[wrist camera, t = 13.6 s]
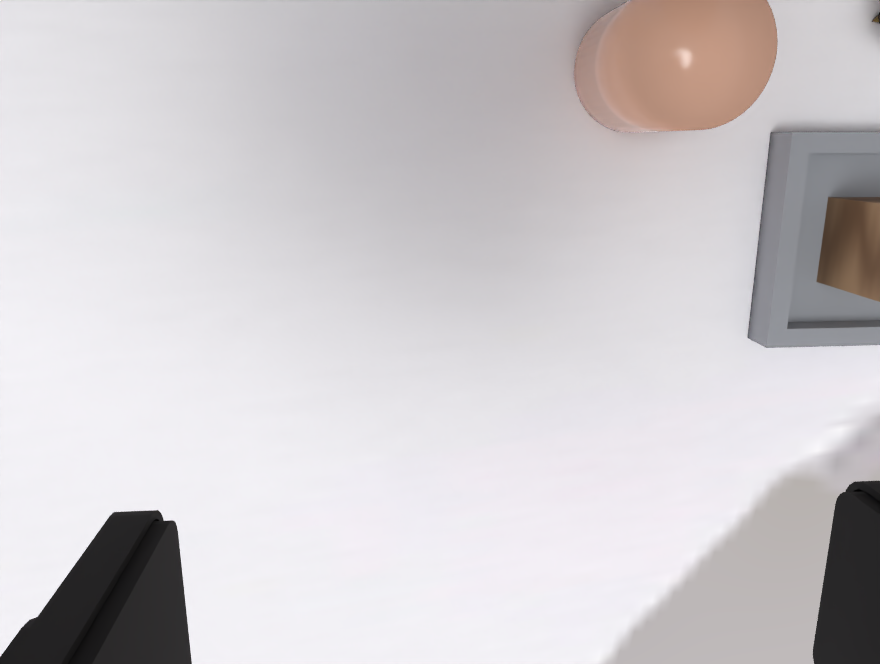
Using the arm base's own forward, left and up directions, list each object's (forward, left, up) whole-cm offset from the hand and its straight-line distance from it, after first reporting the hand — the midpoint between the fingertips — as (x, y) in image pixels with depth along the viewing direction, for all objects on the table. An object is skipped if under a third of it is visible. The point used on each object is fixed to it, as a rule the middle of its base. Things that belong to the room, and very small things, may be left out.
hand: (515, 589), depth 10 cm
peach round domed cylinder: (-10, +11, -28) cm, 32 cm away
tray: (-1, +24, -28) cm, 37 cm away
